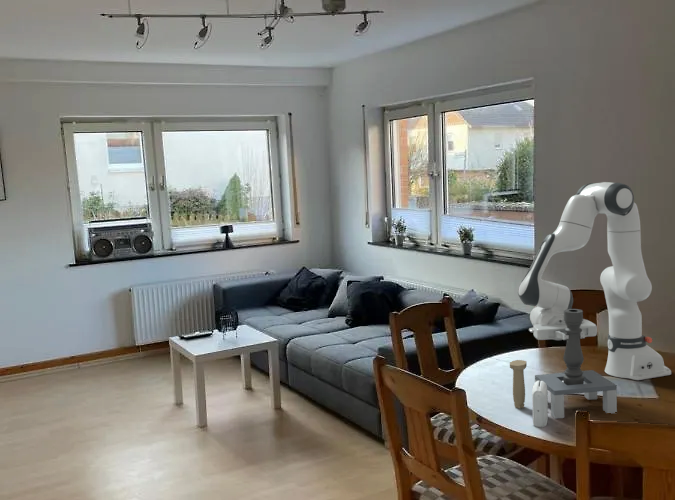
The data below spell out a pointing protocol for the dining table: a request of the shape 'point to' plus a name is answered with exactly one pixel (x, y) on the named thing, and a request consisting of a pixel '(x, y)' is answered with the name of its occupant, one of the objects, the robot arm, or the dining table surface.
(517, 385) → the handle
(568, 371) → the candle holder
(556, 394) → the hole stand
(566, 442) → the dining table surface
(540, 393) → the photo printer
